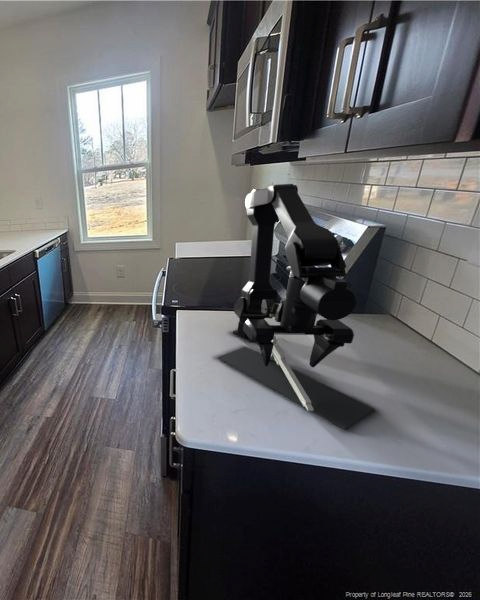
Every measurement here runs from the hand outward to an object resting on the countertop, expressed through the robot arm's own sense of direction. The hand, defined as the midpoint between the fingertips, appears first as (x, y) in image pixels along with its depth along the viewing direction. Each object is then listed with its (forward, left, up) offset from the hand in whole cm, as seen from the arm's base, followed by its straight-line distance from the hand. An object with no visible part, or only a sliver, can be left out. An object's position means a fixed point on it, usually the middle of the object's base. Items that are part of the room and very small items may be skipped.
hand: (288, 365), depth 69 cm
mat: (0, 0, -4) cm, 4 cm away
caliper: (0, 0, -4) cm, 4 cm away
